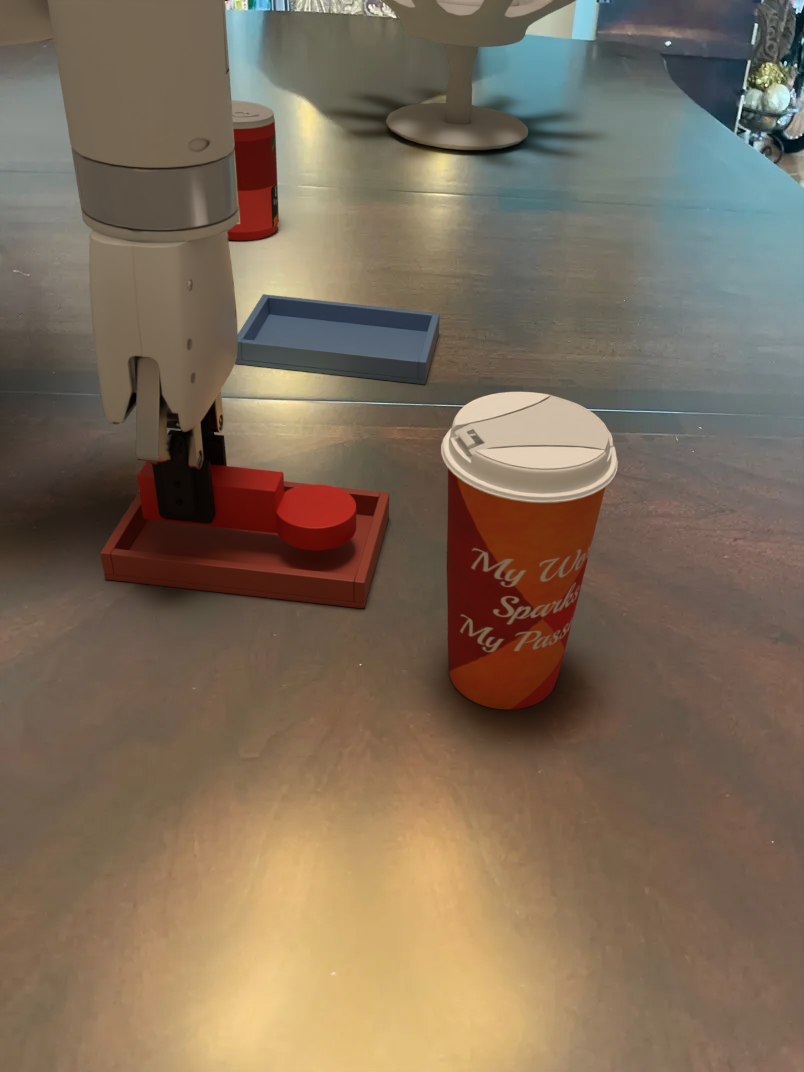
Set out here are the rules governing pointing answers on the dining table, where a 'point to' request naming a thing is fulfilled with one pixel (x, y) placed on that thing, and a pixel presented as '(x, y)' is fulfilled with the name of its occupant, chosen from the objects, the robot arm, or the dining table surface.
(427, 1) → the beige pedestal fruit bowl
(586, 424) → the coffee cup
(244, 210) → the canned food
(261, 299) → the blue tray
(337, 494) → the red spoon
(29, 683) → the dining table surface
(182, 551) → the red tray
